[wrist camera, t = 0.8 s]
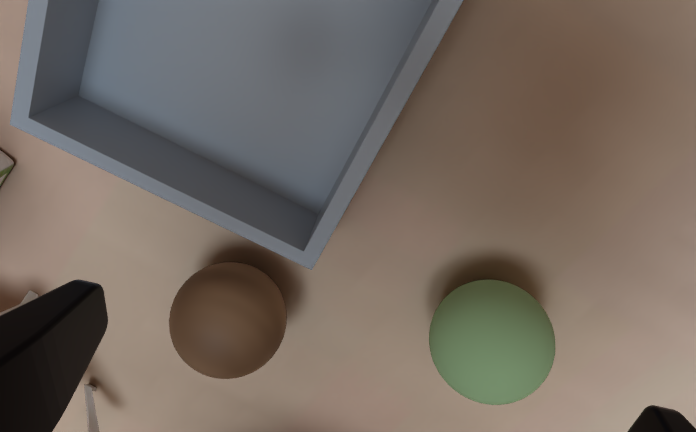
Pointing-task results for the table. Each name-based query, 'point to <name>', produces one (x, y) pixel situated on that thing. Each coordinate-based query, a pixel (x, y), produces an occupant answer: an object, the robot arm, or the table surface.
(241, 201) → the bin
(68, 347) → the robot arm
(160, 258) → the table surface
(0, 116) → the table surface
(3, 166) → the syrup box
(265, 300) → the walnut ball
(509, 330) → the green ball
